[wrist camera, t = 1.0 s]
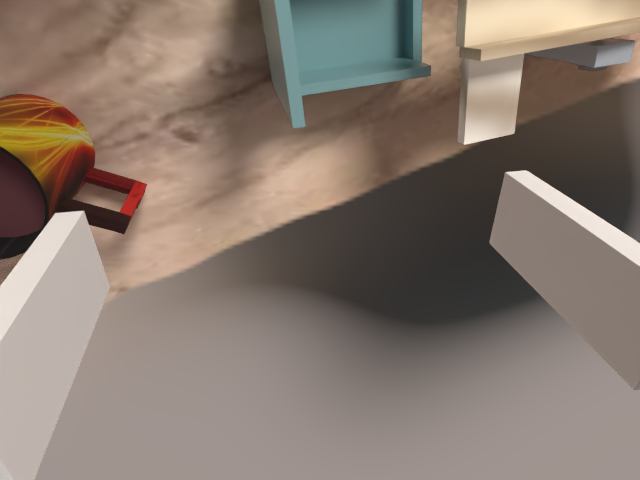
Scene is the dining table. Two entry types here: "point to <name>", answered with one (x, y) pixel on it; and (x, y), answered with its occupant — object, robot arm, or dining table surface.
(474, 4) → the lever
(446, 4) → the dining table surface
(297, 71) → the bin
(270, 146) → the dining table surface
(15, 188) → the mug
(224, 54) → the dining table surface
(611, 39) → the stand
